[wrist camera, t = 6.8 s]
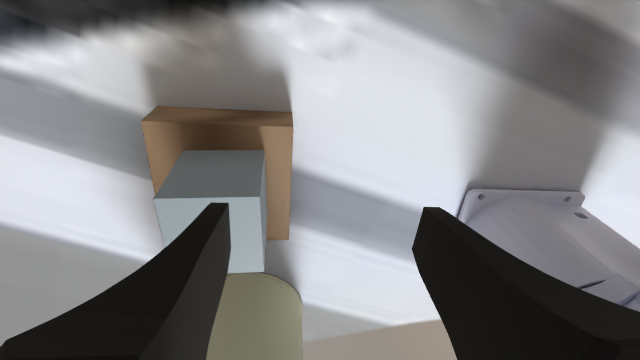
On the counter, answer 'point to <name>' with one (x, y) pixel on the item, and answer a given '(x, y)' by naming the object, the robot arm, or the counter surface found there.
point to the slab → (226, 148)
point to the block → (219, 200)
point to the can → (257, 320)
